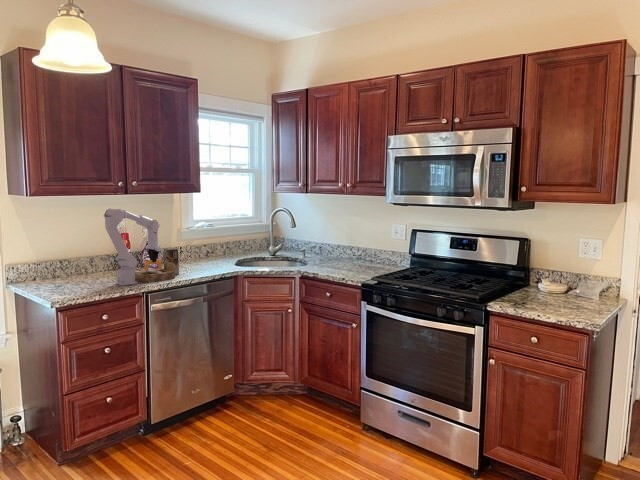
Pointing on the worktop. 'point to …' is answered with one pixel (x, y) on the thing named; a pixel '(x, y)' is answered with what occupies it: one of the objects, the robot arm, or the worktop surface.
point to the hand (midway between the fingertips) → (153, 261)
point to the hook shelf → (154, 275)
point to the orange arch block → (148, 262)
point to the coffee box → (171, 260)
